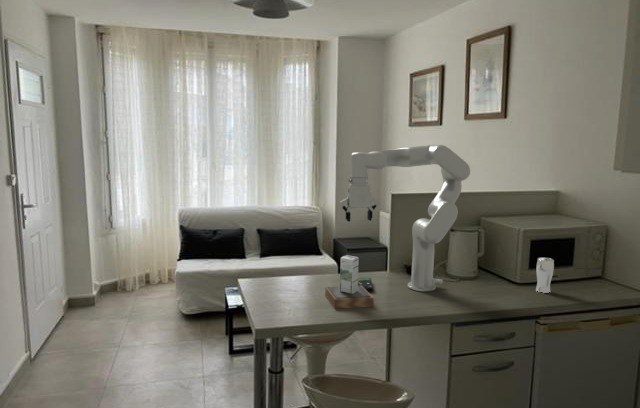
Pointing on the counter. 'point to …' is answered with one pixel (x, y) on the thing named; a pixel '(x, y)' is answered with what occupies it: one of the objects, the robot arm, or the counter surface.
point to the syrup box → (349, 274)
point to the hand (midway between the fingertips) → (358, 220)
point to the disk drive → (366, 283)
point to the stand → (349, 298)
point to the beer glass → (544, 274)
